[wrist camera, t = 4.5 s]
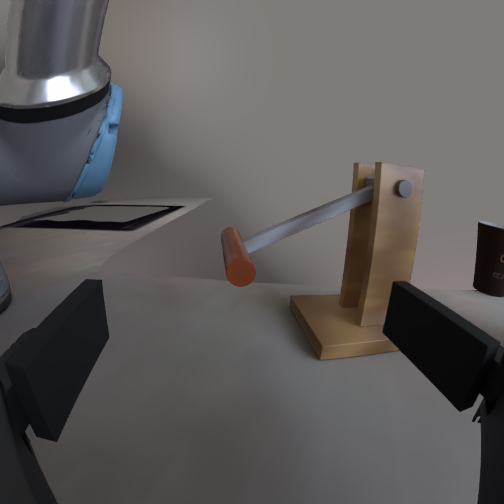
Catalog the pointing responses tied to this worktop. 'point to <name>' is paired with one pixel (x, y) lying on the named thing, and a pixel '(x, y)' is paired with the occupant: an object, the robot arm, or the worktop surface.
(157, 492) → the worktop surface
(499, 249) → the coffee mug
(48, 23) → the robot arm
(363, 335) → the bracket
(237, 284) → the lever
